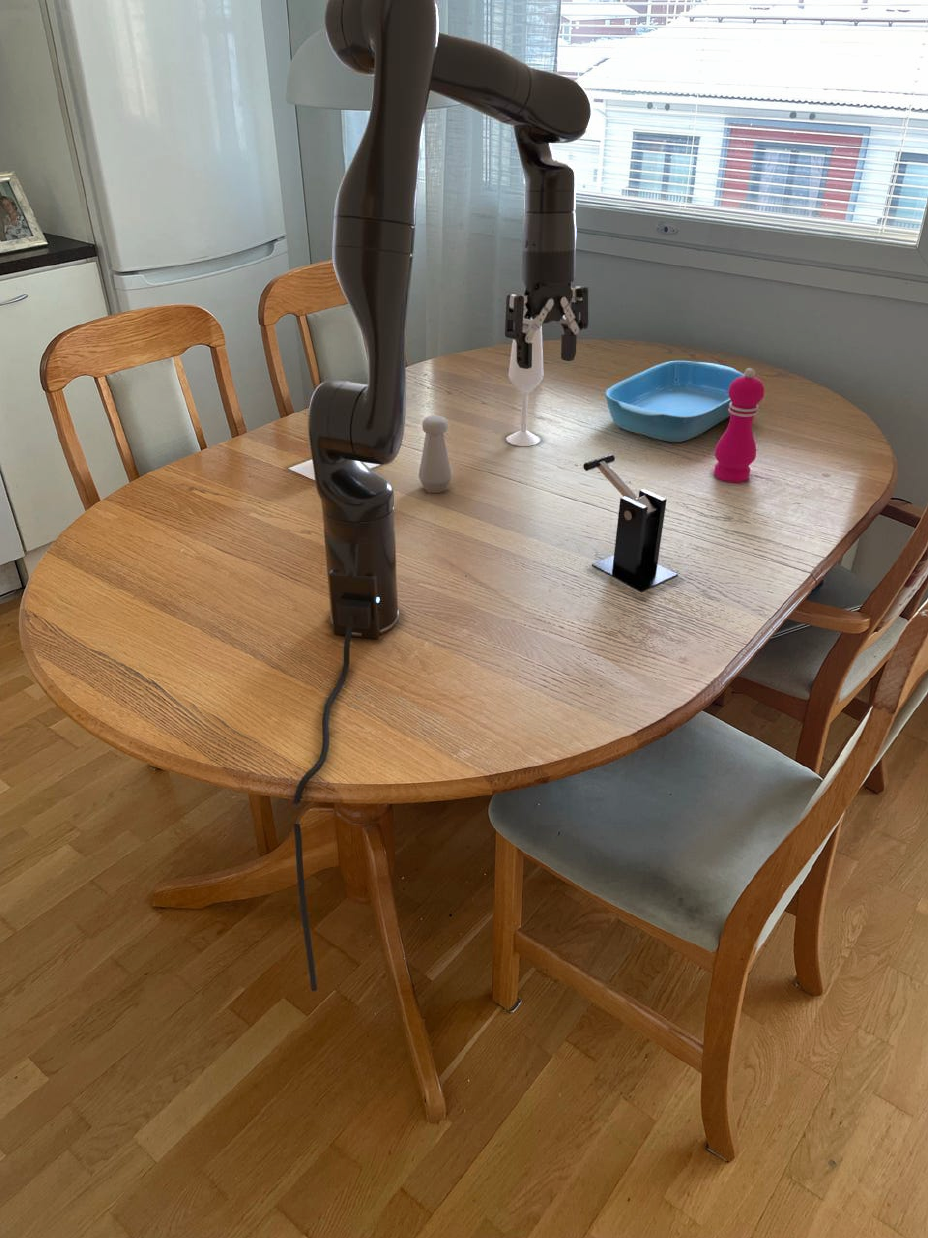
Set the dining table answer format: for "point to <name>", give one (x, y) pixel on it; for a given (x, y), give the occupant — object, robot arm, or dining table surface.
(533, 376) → the champagne flute
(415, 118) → the robot arm
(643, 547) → the black lever stand
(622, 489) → the lever with crossbar handle
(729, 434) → the pepper mill
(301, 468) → the napkin holder
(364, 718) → the dining table surface
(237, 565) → the dining table surface
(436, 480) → the salt shaker
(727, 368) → the casserole dish
